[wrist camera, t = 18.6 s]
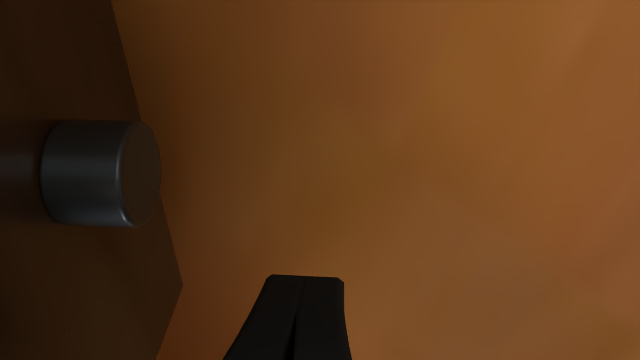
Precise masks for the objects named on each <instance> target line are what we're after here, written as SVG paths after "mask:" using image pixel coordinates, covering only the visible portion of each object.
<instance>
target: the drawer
mask: <svg viewBox="0 0 640 360" xmlns="http://www.w3.org/2000/svg"><path fill="white" fill-rule="evenodd" d="M160 180H161V163H160V154H159V148H158V144H157V140H156V138H155V135H154V133H153V131H152V130H151V128H150V127H149V126H148V125H147V124H145V123H143V122H141V118H140V115H139V111H138V107H137V103H136V99H135V95H134V91H133V87H132V83H131V79H130V75H129V71H128V67H127V63H126V59H125V55H124V51H123V48H122V44H121V40H120V36H119V32H118V28H117V24H116V20H115V16H114V12H113V8H112V4H111V0H0V360H155V359H156V357H157V354H158V351H159V349H160V346H161V343H162V341H163V338H164V335H165V333H166V330H167V327H168V324H169V322H170V319H171V316H172V314H173V311H174V308H175V306H176V303H177V300H178V298H179V295H180V292H181V290H182V287H183V284H182V280H181V276H180V272H179V268H178V264H177V260H176V256H175V253H174V249H173V245H172V241H171V237H170V233H169V229H168V225H167V221H166V217H165V213H164V209H163V205H162V201H161V197H160V193H159V189H160Z"/></svg>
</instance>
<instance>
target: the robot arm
mask: <svg viewBox="0 0 640 360" xmlns="http://www.w3.org/2000/svg"><path fill="white" fill-rule="evenodd" d="M223 360H352V357H351V353H350V348H349V342H348V336H347V330H346V324H345V315H344V282H343V281H341V280H340V279H339V278H335V277H314V276H294V275H274V274H272V275H271V276H269V277H268V278H266V281H265V283H264V285H263V287H262V290H261V292H260V294H259V296H258V298H257V300H256V302H255V304H254V306H253V308H252V310H251V312H250V313H249V315H248V317H247V319H246V321H245V323H244V324H243V326H242V328H241V330H240V331H239V333H238V335H237V337H236V338H235V340H234V342H233V343H232V345H231V347H230V348H229V350H228V351H227V353H226V355H225V356H224V358H223Z"/></svg>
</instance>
